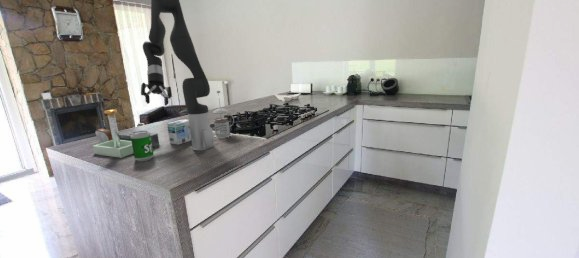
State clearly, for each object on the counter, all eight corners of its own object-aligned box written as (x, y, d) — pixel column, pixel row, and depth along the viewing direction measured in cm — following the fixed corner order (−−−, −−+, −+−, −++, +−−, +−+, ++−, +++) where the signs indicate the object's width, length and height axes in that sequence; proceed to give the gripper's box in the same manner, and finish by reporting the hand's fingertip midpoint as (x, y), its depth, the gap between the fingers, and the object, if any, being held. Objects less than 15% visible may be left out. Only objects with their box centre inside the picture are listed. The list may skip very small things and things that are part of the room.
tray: (142, 149, 133) (140, 142, 132) (121, 157, 123) (119, 149, 122) (116, 146, 140) (114, 139, 139) (94, 153, 130) (92, 145, 129)
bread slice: (116, 146, 141) (113, 130, 139) (109, 147, 139) (106, 131, 137) (102, 142, 149) (99, 127, 147) (96, 143, 147) (92, 128, 145)
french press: (215, 134, 156) (210, 90, 150) (235, 132, 158) (231, 88, 151) (212, 139, 147) (207, 92, 141) (234, 137, 148) (230, 90, 142)
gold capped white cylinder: (126, 148, 133) (118, 109, 128) (117, 151, 128) (108, 111, 124) (119, 147, 134) (111, 109, 130) (110, 151, 130) (101, 111, 125)
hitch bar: (159, 145, 140) (157, 133, 138) (147, 149, 134) (145, 137, 132) (128, 141, 148) (126, 130, 147) (116, 145, 142) (114, 134, 140)
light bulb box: (178, 145, 139) (175, 124, 136) (169, 143, 142) (166, 123, 139) (194, 139, 148) (192, 119, 145) (186, 138, 151) (183, 118, 148)
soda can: (141, 163, 115) (136, 135, 112) (131, 160, 119) (126, 133, 116) (157, 157, 122) (153, 131, 119) (147, 154, 126) (143, 129, 123)
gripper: (142, 69, 137) (144, 99, 133) (172, 74, 147) (174, 102, 142) (138, 76, 142) (139, 105, 138) (167, 81, 152) (169, 108, 148)
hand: (157, 104), depth 140 cm, fingers open, 8 cm apart
